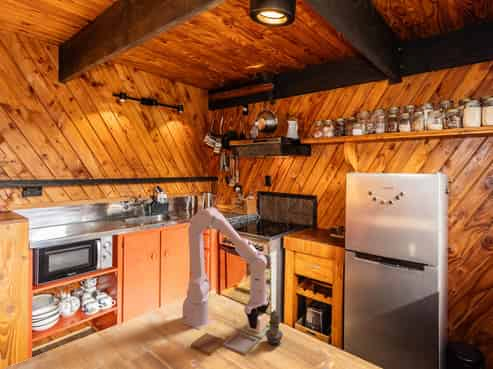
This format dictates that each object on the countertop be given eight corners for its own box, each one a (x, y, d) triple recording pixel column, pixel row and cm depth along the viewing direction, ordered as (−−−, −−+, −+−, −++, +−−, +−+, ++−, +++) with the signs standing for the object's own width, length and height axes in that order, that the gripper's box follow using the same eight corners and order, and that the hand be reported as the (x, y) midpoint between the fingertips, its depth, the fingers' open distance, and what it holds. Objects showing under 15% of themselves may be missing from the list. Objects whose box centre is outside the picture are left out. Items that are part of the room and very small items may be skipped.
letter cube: (247, 329, 107) (247, 315, 107) (254, 323, 111) (254, 310, 111) (259, 333, 105) (259, 319, 104) (266, 327, 109) (266, 313, 109)
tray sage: (239, 331, 107) (239, 329, 107) (252, 321, 114) (252, 318, 114) (261, 339, 102) (261, 337, 102) (273, 328, 109) (273, 325, 109)
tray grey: (222, 346, 98) (222, 343, 98) (237, 333, 105) (237, 331, 105) (245, 356, 93) (245, 353, 93) (259, 342, 101) (259, 339, 101)
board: (190, 346, 97) (190, 344, 97) (206, 335, 104) (206, 332, 104) (209, 355, 93) (209, 352, 93) (224, 343, 100) (224, 340, 100)
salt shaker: (281, 350, 96) (282, 314, 96) (263, 347, 98) (264, 312, 97) (283, 339, 102) (284, 306, 101) (266, 337, 103) (267, 304, 103)
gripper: (257, 298, 99) (256, 337, 100) (276, 284, 111) (275, 319, 112) (239, 293, 103) (239, 331, 103) (260, 280, 115) (259, 314, 116)
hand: (256, 324), depth 108 cm, fingers closed on letter cube, 5 cm apart
